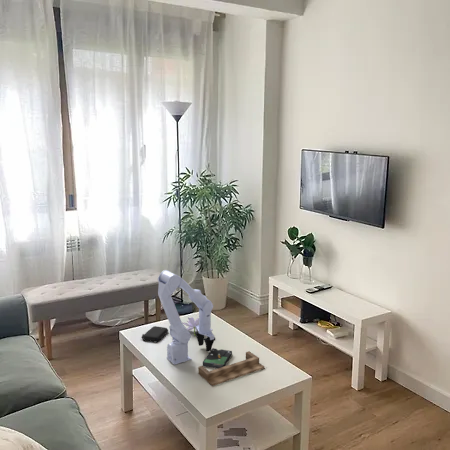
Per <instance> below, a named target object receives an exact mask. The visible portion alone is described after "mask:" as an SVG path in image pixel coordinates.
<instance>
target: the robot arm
mask: <svg viewBox="0 0 450 450" xmlns="http://www.w3.org/2000/svg"><path fill="white" fill-rule="evenodd" d="M157 282H158V289H157V294H158V298H159V300H160V303H161V305H162V308H163V310H164V313H165V315H166V318H167V320H168V322H169V325H168V328H169V335H170V337H172V338H171V340H172V341H171V342H170V343H168V344H167V346H166V351H167V354H166V359H167V360H168V361H169V362H171V364H173V365H178V364H181V363H184V362H188V361H191V360H192V357H190V356H189V346H188V345H189V341H191V337H192V335H191V332H190V330H189V331H187V329H186V328H187V327H186V325H184V324H183V322H182V320H181V317H180V314H179V312H178V310H177V308H176V304H175V302H174V299H173V296H172V294H174V292H175V291H177V289H178V288H179V289H181V290H183V291H184V292H185V293H186V294H188V299H189V300H190V301H191V302H192V303H194V305H195V306H196V307H197V308H198V318H199V325H198V326H196V328H195V335H196V336H195V337H196V339H197V344H198V346H199V347H200V346H203V345H204V344H205V350H206V352H207V353H209V352H210V351H211V349H212V348H213V344H214V342H215V341H216V337H215V335H214V334H213V329H212V328H211V317H212V316H211V315H212V311H213V308H214V304H213V302H212V301H211V300H210V299H208V298H207V296H206V295H204V294H203V293H202V290H201V289H196V288H192V286H190V284H189V283H188V282H187V281H186V280H185V279H184V278H182V277H181V276H179V274H176V273H173V272H171V271H170V270H168V269H164V270H162V271H161V272H160V274H159V275H158V276H157ZM205 336H206V337H205Z"/></svg>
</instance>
